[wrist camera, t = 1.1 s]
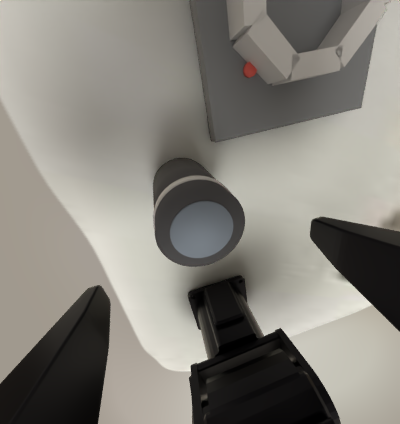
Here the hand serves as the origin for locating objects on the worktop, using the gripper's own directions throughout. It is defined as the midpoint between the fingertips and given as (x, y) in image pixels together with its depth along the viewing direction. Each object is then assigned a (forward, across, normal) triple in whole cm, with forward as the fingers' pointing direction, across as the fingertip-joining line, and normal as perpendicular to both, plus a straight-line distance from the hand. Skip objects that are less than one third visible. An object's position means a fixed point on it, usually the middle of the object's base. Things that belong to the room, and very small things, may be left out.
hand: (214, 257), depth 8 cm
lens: (+9, 0, 0) cm, 9 cm away
